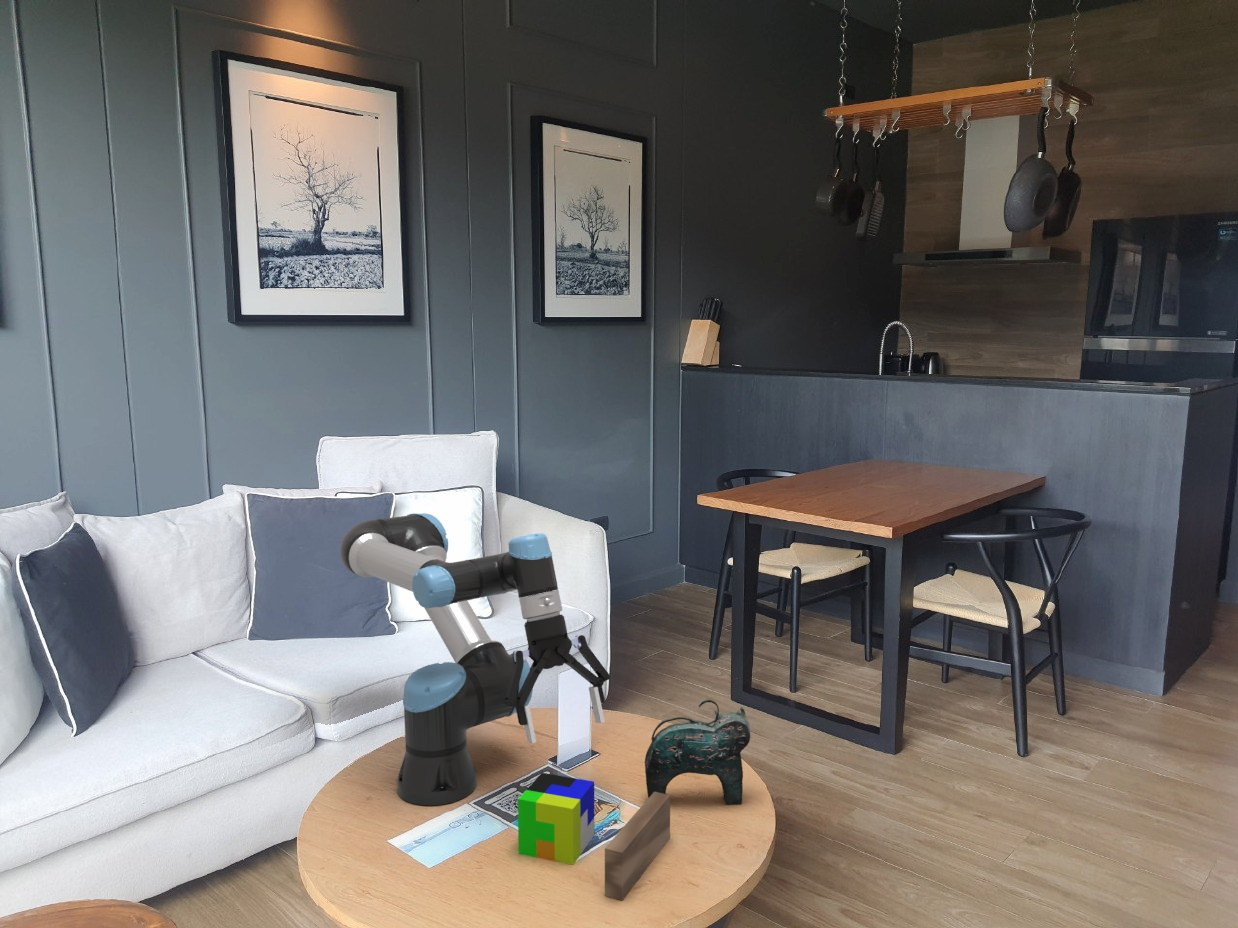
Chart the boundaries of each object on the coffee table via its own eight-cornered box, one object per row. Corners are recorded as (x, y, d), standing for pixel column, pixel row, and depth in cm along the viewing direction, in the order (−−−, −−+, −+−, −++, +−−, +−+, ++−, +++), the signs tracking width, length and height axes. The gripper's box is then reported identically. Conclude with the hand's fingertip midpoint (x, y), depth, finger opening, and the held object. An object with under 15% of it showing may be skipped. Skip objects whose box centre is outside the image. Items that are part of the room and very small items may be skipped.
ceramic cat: (746, 792, 177) (748, 693, 175) (752, 810, 171) (755, 707, 168) (643, 794, 177) (644, 694, 174) (646, 811, 170) (646, 708, 168)
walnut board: (604, 895, 145) (604, 848, 143) (654, 834, 163) (654, 791, 161) (622, 900, 143) (622, 852, 142) (669, 837, 161) (670, 794, 160)
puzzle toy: (594, 834, 162) (594, 781, 161) (573, 865, 153) (572, 808, 152) (542, 824, 166) (541, 772, 164) (518, 854, 156) (517, 798, 155)
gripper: (484, 631, 162) (508, 752, 159) (611, 601, 173) (635, 715, 170) (473, 632, 169) (496, 748, 166) (596, 604, 179) (619, 713, 177)
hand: (566, 732), depth 168 cm, fingers open, 13 cm apart
